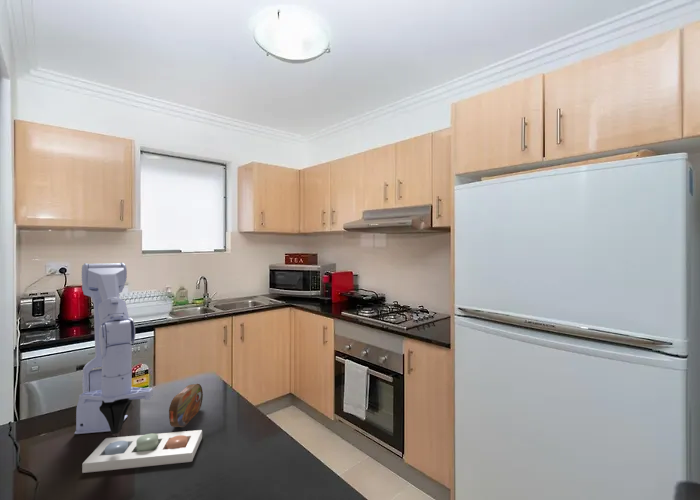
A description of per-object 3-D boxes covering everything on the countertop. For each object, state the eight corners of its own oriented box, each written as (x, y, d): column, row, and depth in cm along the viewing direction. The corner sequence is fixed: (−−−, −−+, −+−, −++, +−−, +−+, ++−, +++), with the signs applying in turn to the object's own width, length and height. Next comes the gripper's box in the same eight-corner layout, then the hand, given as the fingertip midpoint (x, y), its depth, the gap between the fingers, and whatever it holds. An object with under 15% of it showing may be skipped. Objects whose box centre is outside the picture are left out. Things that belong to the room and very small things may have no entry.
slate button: (101, 463, 77) (101, 452, 77) (110, 451, 81) (110, 441, 81) (122, 461, 78) (122, 450, 78) (131, 449, 82) (131, 439, 82)
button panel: (82, 472, 74) (82, 463, 74) (105, 446, 84) (105, 438, 84) (192, 461, 78) (192, 452, 78) (202, 437, 88) (202, 429, 88)
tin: (178, 433, 90) (178, 401, 90) (166, 433, 90) (166, 401, 90) (203, 406, 105) (204, 379, 105) (193, 406, 105) (193, 379, 105)
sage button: (133, 455, 78) (133, 444, 78) (140, 444, 83) (140, 434, 83) (154, 453, 79) (154, 442, 79) (160, 442, 84) (160, 432, 84)
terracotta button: (164, 456, 80) (164, 446, 80) (170, 446, 84) (170, 436, 84) (184, 454, 80) (184, 444, 80) (189, 444, 85) (189, 434, 85)
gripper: (70, 381, 74) (70, 444, 74) (144, 377, 77) (144, 437, 77) (88, 369, 81) (88, 427, 81) (156, 366, 84) (155, 422, 84)
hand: (116, 431), depth 80 cm, fingers closed
